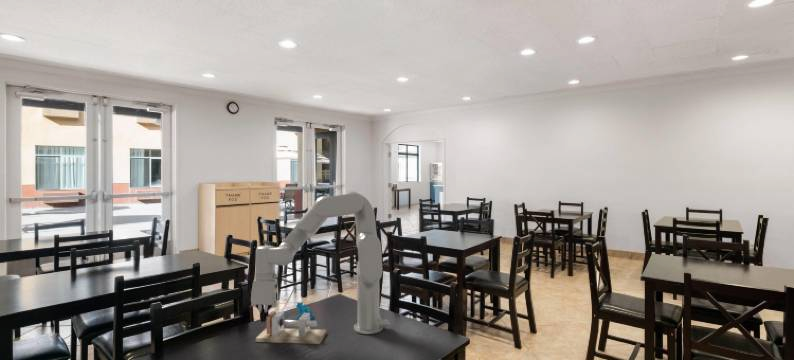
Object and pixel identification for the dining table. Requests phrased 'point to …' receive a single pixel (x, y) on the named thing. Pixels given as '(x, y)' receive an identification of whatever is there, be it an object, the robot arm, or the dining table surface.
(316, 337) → the base plate
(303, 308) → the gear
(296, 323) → the shaft
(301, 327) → the bearing blocks
